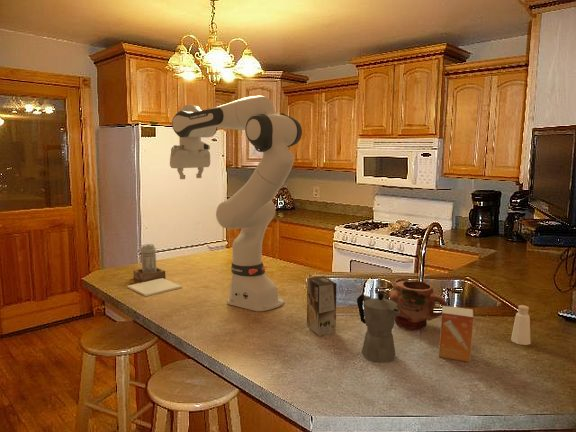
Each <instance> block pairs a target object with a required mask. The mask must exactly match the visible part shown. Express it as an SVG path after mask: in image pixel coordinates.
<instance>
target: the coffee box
mask: <svg viewBox="0 0 576 432" xmlns="http://www.w3.org/2000/svg"><path fill="white" fill-rule="evenodd" d="M306 296H307V297H306V326H307V327H308V328H309V330H311V331H312V332H314V333H315V334H316V335H317V336H320V337H321V336H323V335H329V334H335V333H337V332H336V331H337V330H336V329H337V327H336V326H337V282H335V281H333V280H331V279H330V278H328V277H326V276H325V275H322V276H313V277H307V279H306Z"/></svg>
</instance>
